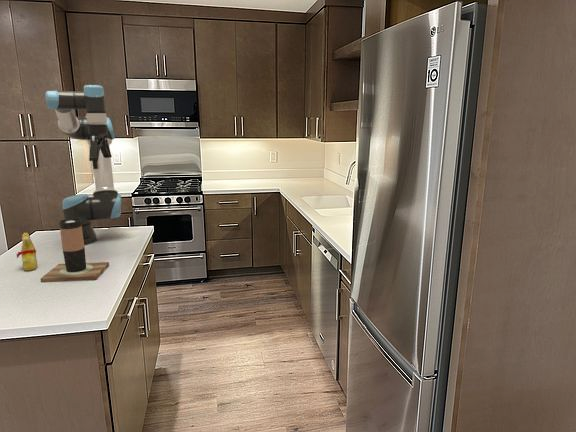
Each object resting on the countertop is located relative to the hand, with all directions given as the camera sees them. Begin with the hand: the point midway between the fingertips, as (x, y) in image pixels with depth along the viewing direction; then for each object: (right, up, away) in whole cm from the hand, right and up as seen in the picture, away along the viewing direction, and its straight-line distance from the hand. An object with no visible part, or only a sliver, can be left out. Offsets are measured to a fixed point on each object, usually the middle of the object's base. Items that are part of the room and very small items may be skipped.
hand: (102, 174), depth 175 cm
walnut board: (-5, -41, -12) cm, 43 cm away
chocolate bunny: (-28, -39, -6) cm, 49 cm away
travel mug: (-5, -39, -13) cm, 42 cm away
